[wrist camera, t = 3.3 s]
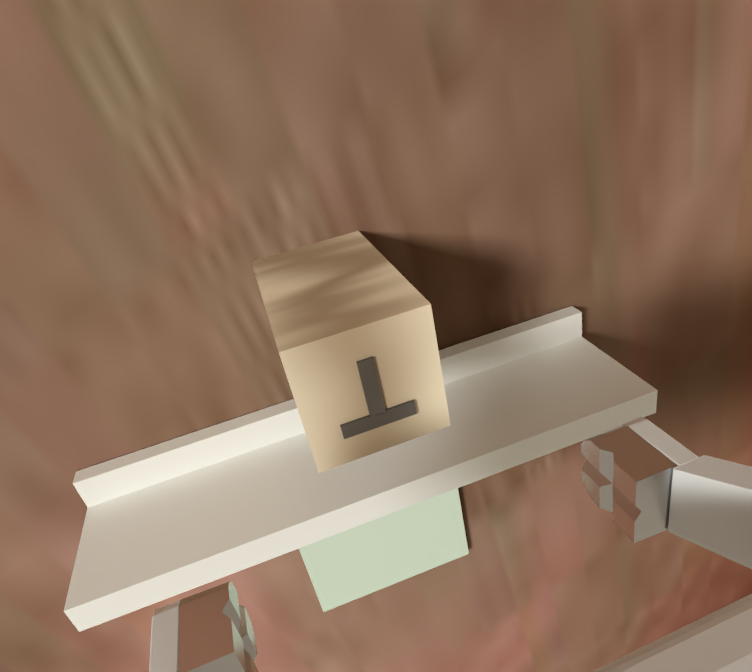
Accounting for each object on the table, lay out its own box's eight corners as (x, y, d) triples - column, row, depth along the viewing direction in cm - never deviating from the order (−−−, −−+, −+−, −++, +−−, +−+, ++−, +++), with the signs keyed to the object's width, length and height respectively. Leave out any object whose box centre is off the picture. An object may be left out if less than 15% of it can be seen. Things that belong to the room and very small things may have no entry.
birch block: (358, 230, 23) (432, 305, 16) (379, 325, 25) (451, 427, 18) (251, 261, 22) (279, 354, 15) (282, 356, 24) (319, 475, 17)
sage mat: (446, 433, 29) (449, 437, 28) (465, 548, 33) (468, 553, 33) (278, 493, 27) (279, 499, 27) (322, 606, 32) (323, 612, 31)
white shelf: (572, 305, 28) (659, 362, 22) (573, 371, 30) (654, 437, 24) (76, 471, 24) (44, 585, 19) (115, 534, 26) (96, 654, 20)
